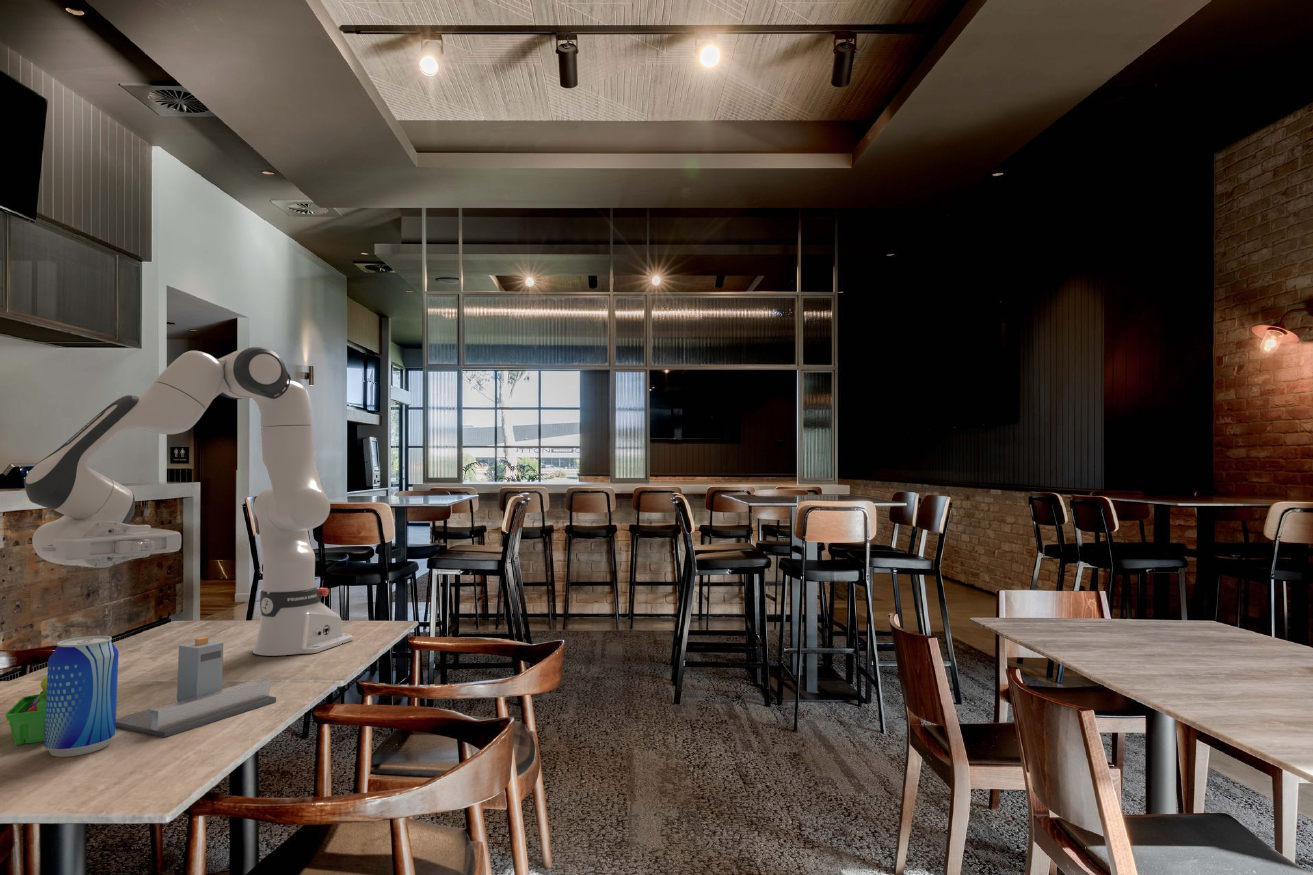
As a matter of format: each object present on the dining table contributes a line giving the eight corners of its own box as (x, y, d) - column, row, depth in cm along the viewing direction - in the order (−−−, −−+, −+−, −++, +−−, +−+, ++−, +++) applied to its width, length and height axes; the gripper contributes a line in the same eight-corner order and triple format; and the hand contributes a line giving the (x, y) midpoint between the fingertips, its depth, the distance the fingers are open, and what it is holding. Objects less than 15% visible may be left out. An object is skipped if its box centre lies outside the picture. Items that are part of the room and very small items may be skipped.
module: (201, 703, 130) (204, 634, 130) (221, 706, 128) (223, 636, 128) (176, 710, 125) (178, 639, 126) (196, 714, 123) (198, 642, 124)
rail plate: (223, 692, 139) (223, 672, 139) (276, 701, 133) (276, 680, 133) (108, 725, 120) (109, 701, 121) (164, 737, 115) (165, 712, 115)
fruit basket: (21, 727, 120) (25, 657, 120) (89, 718, 124) (92, 650, 125) (1, 749, 110) (5, 673, 110) (76, 739, 114) (79, 665, 115)
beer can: (128, 742, 113) (132, 636, 114) (69, 761, 105) (73, 648, 106) (90, 735, 116) (94, 632, 117) (29, 754, 108) (35, 644, 109)
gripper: (36, 530, 130) (84, 533, 125) (154, 524, 149) (200, 526, 144) (34, 566, 130) (82, 570, 125) (153, 555, 149) (199, 558, 143)
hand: (146, 546), depth 134 cm, fingers closed
